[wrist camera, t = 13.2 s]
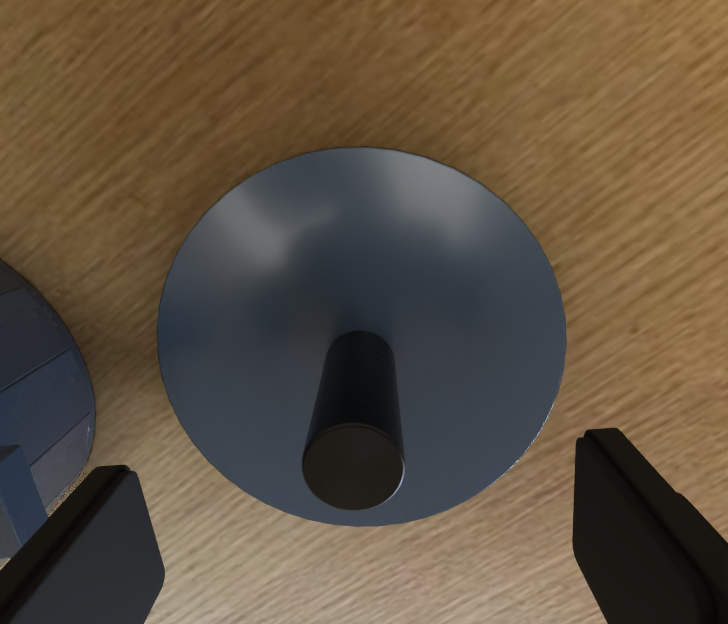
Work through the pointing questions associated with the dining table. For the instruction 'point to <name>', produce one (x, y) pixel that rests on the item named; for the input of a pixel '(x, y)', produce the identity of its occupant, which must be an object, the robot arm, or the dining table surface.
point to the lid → (361, 336)
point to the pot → (37, 411)
